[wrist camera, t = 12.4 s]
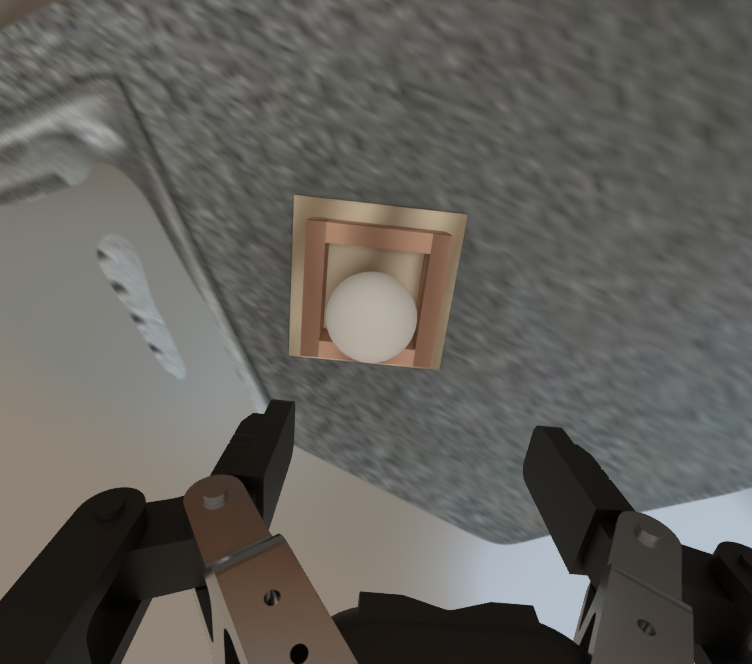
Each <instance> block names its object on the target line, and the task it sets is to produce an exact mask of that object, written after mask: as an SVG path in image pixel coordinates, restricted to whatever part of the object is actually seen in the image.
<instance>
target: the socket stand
mask: <svg viewBox="0 0 752 664" xmlns="http://www.w3.org/2000/svg"><path fill="white" fill-rule="evenodd" d="M467 216H468V215H467V214H460V213H452V212H443V211H434V210H425V209H417V208H408V207H399V206H390V205H382V204H373V203H364V202H355V201H347V200H338V199H329V198H320V197H312V196H303V195H294V214H293V245H292V275H291V306H290V336H289V356H299V357H310V358H320V359H331V360H341V361H351V362H360V361H357V360H354V359H352V358H350V357H348V356H346V355H345V354H344V353H342V352H341V351H340V350H339V349H338V348H337V346H336V345H335V344H334V343H333V341H332V339H331V338H330V336H329V333H328V330H327V326H326V318H325V316H326V308H327V304H328V301H329V298H330V297H331V295H332V293H333V291H334V290H335V289H336V287H337V286H338V285H339V284H340V283H341V282H343V281H344V280H345V279H347V278H349V277H351V276H353V275H355V274H358V273H362V272H372V271H373V272H381V273H384V274H387V275H390V276H392V277H394V278H396V279H397V280H399V281H400V282H401V283H402V284H403V285H405V287H406V288H407V289H408V290H409V292H410V293H411V295H412V297H413V299H414V302H415V306H416V310H417V324H416V329H415V332H414V334H413V337H412V339H411V341H410V342H409V344H408V345H407V346H406V347H405V348H404V349H403V350H402V351H401V352H400V353H399V354H398V355H396V356H395V357H393V358H391V359H389V360H386V361H382V362H379V363H372V364H383V365H393V366H404V367H414V368H424V369H435V370H439V368H440V363H441V357H442V352H443V346H444V341H445V335H446V330H447V325H448V319H449V314H450V308H451V303H452V297H453V292H454V287H455V281H456V276H457V270H458V265H459V259H460V254H461V249H462V243H463V238H464V232H465V227H466V221H467ZM362 363H365V362H362Z"/></svg>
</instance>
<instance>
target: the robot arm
mask: <svg viewBox="0 0 752 664" xmlns="http://www.w3.org/2000/svg"><path fill="white" fill-rule="evenodd" d="M294 426H295V402H294V401H285V400H275V399H272V400H271V401H270V403H269V405H268V407H267V409H266V411H265V413H264V414H258V413H252V414H251V415H250V416H248V417H247V418H245V419H244V420H243V421H241V423H240V425H239V426H238V428H237V430H236V432H235V435H233V437H232V439H231V440H230V443H229V444H228V445H227V447H226V449H225V451H224V452H223V454H222V456H221V457H220V459H219V461H218V463H217V465H216V466H215V468H214V470H213V471H212V473H211V475H210V476H209V477H206V478H203V479H201V480H199V481H197V482H196V483H194V484H193V485H192V486H191V487H190V488H189V489H188V490H187V492H186V494H185V495H184V496H181V497H178V498H173V499H167V500H161V501H154V502H148V503H146V500H145V496H144V495H143V493H141V492H140V491H139V490H137V489H133V488H126V487H125V488H114V489H110V490H107V491H104V492H101V493H99V494H97V495H95V496H93V497H91V498H90V499H88V500H87V501H85V502H84V503H83V504H82V505H81V506H80V507H79V508H78V509H77V510H76V511H75V512H74V513H73V515H72V516H71V517H70V518H69V520H68V521H67V522H66V523H65V524H64V525H63V527H62V528H61V529H60V530H59V531H58V532H57V534H56V535H55V536H54V537H53V539H52V540H51V541H50V542H49V543H48V544H47V546H46V547H45V548H44V549H43V550H42V552H41V553H40V554H39V555H38V557H37V558H36V559H35V560H34V561H33V562H32V563H31V565H30V566H29V567H28V568H27V569H26V571H25V572H24V573H23V574H22V575H21V577H20V578H19V579H18V580H17V581H16V583H15V584H14V585H13V586H12V587H11V589H10V590H9V591H8V592H7V593H6V594H5V596H4V597H3V598H2V599H1V601H0V664H121V662H122V660H123V658H124V656H125V654H126V652H127V650H128V648H129V646H130V644H131V642H132V640H133V637H134V635H135V633H136V631H137V629H138V627H139V625H140V623H141V621H142V618H143V617H144V615H145V613H146V610H147V608H148V606H149V604H150V602H151V600H152V598H154V597H159V596H163V595H167V594H171V593H175V592H180V591H184V590H189V589H192V591H193V595H194V598H195V601H196V604H197V608H198V611H199V614H200V617H201V621H202V624H203V627H204V630H205V633H206V637H207V640H208V644H209V647H210V650H211V653H212V657H213V662H214V664H694V663H695V664H752V548H750V547H747V546H744V545H742V544H739V543H735V542H722V543H720V544H719V545H718V546H717V548H716V550H715V551H714V553H713V555H712V554H709V553H706V552H703V551H700V550H697V549H694V548H691V547H688V546H685V545H682V544H681V543H680V541H679V539H678V538H677V537H676V535H675V534H674V533H673V532H672V531H671V530H670V529H669V528H668V527H666V526H665V525H664V524H662V523H661V522H659V521H658V520H656V519H654V518H652V517H650V516H648V515H646V514H643V513H639V512H636V511H635V510H634V509H633V508H632V506H631V505H630V504H629V502H628V501H627V500H626V499H625V497H624V496H623V495H622V493H621V492H620V491H619V490H618V488H617V487H616V486H615V485H614V483H613V482H612V481H611V480H609V477H608V476H607V474H606V473H605V472H604V470H601V467H600V465H599V464H598V463H597V462H596V460H595V459H594V458H593V456H592V455H591V454H589V453H588V452H587V451H585V450H584V449H583V448H581V447H580V446H579V445H577V444H574V443H573V442H572V440H571V439H570V438H569V436H568V435H567V434H566V432H565V431H564V430H563V429H562V428H559V427H549V426H536V427H535V429H534V431H533V434H532V437H531V440H530V444H529V447H528V450H527V454H526V457H525V460H524V464H523V476H524V481H525V483H526V485H527V487H528V490H529V492H530V494H531V496H532V498H533V500H534V502H535V504H536V506H537V508H538V510H539V512H540V514H541V516H542V518H543V520H544V522H545V524H546V526H547V528H548V530H549V533H550V535H551V537H552V539H553V541H554V543H555V545H556V547H557V549H558V551H559V553H560V555H561V557H562V559H563V561H564V563H565V565H566V567H567V569H568V571H569V573H570V574H578V575H588V577H589V579H590V584H589V586H588V588H587V591H586V594H585V598H584V602H583V606H582V609H581V614H580V617H579V621H578V625H577V629H576V632H575V636H574V640H573V641H572V640H571V639H569V638H568V637H566V636H565V635H563V634H561V633H560V632H558V631H556V630H555V629H552V628H550V627H548V626H546V625H544V624H541V623H539V620H538V618H537V615H536V612H535V610H534V607H533V606H531V605H520V604H508V603H495V602H490V603H484V604H480V605H475V606H470V607H465V608H461V609H456V610H445V609H442V608H439V607H436V606H433V605H430V604H428V603H425V602H422V601H419V600H416V599H413V598H410V597H407V596H404V595H397V594H384V593H371V592H360V594H359V601H358V607H356V608H351V609H348V610H345V611H342V612H339V613H337V614H335V615H333V616H332V617H331V616H330V614H329V613H328V611H327V609H326V608H325V606H324V604H323V602H322V601H321V599H320V597H319V595H318V594H317V592H316V590H315V589H314V587H313V585H312V584H311V582H310V580H309V578H308V577H307V575H306V573H305V572H304V570H303V568H302V567H301V565H300V563H299V561H298V560H297V558H296V556H295V554H294V553H293V551H292V549H291V548H290V546H289V544H288V542H287V541H286V539H285V538H284V537H283V536H282V535H281V534H277V535H275V536H272V535H271V534H270V532H269V527H270V524H271V521H272V518H273V515H274V512H275V508H276V505H277V502H278V499H279V496H280V493H281V490H282V487H283V483H284V480H285V477H286V474H287V471H288V467H289V464H290V461H291V458H292V452H293V446H294Z"/></svg>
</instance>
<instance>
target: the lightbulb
mask: <svg viewBox="0 0 752 664" xmlns="http://www.w3.org/2000/svg"><path fill="white" fill-rule="evenodd" d="M325 318H326V326H327V330H328V333H329V336H330V338H331V339H332V341H333V343H334V344H335V345H336V346H337V348H338V349H339V350H340V351H341V352H342V353H344V354H345V355H346V356H348V357H350V358H352V359H354V360H357V361H360V362H365V363H379V362H382V361H386V360H389V359H391V358H393V357H395V356H396V355H398V354H399V353H400V352H401V351H402V350H403V349H404V348H405V347H406V346H407V345H408V344H409V342H410V341H411V339H412V337H413V334H414V332H415V329H416V324H417V310H416V306H415V302H414V299H413V297H412V295H411V293H410V292H409V290H408V289H407V288H406V287H405V285H403V284H402V283H401V282H400V281H399V280H397V279H396V278H394V277H392V276H390V275H387V274H384V273H381V272H373V271H372V272H362V273H358V274H355V275H353V276H351V277H349V278H347V279H345V280H344V281H343V282H341V283H340V284H339V285H338V286H337V287H336V289H335V290H334V291H333V293H332V295H331V297H330V298H329V301H328V304H327V308H326V316H325Z"/></svg>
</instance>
